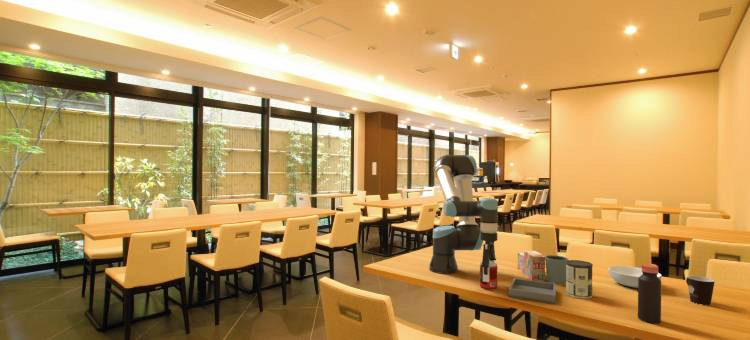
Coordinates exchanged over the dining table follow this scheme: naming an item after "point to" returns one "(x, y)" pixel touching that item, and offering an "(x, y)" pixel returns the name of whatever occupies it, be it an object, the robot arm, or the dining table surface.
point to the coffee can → (579, 279)
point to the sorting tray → (533, 290)
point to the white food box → (532, 265)
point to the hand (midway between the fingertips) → (488, 277)
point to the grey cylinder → (556, 269)
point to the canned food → (492, 277)
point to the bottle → (649, 294)
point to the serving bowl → (627, 275)
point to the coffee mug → (700, 289)
